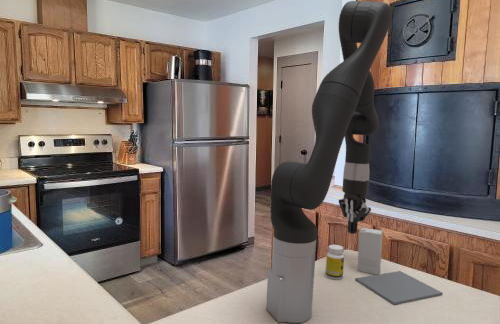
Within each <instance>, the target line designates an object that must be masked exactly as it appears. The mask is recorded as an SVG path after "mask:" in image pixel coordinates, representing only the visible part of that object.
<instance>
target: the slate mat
mask: <svg viewBox="0 0 500 324" xmlns="http://www.w3.org/2000/svg"><path fill="white" fill-rule="evenodd" d="M354 280H355V281H356V282H357V283H359V284H360V285H361V286H363V287H365V288H366V289H368V290H370V291H371V292H373V293H374V294H375V295H378V296H379V297H380V298H382V299H384V300H385V301H387V302H388V303H390V304H391V305H392V306H397V305H402V304H406V303H410V302H411V303H412V302H416V301H420V300H421V301H422V300H425V299H430V298H435V297H438V296H440V297H441V296H443V292H442V291H440V290H438V289H436V288H434V287H432V286H430V285H428V284H426V283H425V282H422V281H420V280H419V279H416V278H415V277H412V275H409V274H407V273H405V272H403V271H401V270H398V271H392V272H385V273H379V274H378V275H376V274H371V275H366V276H361V277H355V279H354Z"/></svg>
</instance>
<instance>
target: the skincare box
mask: <svg viewBox="0 0 500 324" xmlns="http://www.w3.org/2000/svg"><path fill="white" fill-rule="evenodd" d="M383 232H384V231H383V230H379V229H375V228H374V229H372V228H367V227H361V229H360V230H359V232H358V234H359V235H358V253H357V268H356V269H357V272H362V273H367V274H371V275H378V274H381V273H380V272H381V270H382V269H381V264H382V251H383V234H384V233H383Z"/></svg>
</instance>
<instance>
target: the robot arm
mask: <svg viewBox="0 0 500 324" xmlns="http://www.w3.org/2000/svg"><path fill="white" fill-rule="evenodd" d="M392 13H393V12H392V8H391V6H390V5H389V4H388V3H386V2H382V1H371V0H369V1H367V0H366V1H365V0H350V1H347V2H346V3H345V4H344V5H343V6H342V9H341V11H340V14H339V18H338V35H339V36H338V37H339V42H340V48H341V54H342V59H343V61H342V62H340V63H339V64H338V65H336V66H335V67H334V68H333V69H332V70H330V71H329V72H328V73H327V74H326V75H325V76H324V77H323V78H322V81H320V84H319V87H318V88H317V91H316V94H315V96H314V98H313V101H312V106H311V116H312V117H311V118H312V123H313V127H314V132H315V133H314V134H315V138H314V139H315V141H314V145H313V148H312V149H313V150H312V151H311V154H310V157H309V159H308V162H307V163H302V162H297V161H283V162H281V163H280V164H278V165H277V167H276V168H275V169H274V171H273V174H272V177H271V182H270V222H271V225H272V228H273V237H272V238H273V239H272V240H273V241H272V258H271V267H269V268H268V269H267V285H266V303H265V304H266V305H265V309H266V310H267V311H268V313H270V315H271V316H272V317H273V318H274V319H275V320H276V322H278V323H289V324H298V323H304V322H306V321H308V320H310V319H311V318H312V314H313V297H314V282H315V281H314V280H315V265H316V251H317V250H316V249H317V237H318V235H317V233H318V230H317V229H318V227H317V226H316V224H315V222H313V221H312V220H311V219H310V218H309V217H308V216H307V215H306V214H305V212H304V210H303V209H305V210H311V211H312V210H316V209H318V208H319V207H320V206H321V205H322V204H323V202H324V201H325V199H326V197H327V195H328V192H329V189H330V186H331V183H332V179H333V176H334V172H335V168H336V166H337V165H336V164H337V161H338V158H339V154H340V151H341V148H342V144H343V142H344V141H345V159H344V166H343V174H342V189H341V190H342V191H341V192H343V193H344V194H343V198H341V199H340V198H339V199H338V204H339V207H340V209H341V212H342V213H341V214H342V215H343V217H344V218H346V220H347V227H346V228H347V232H348V233H349V234H351V235H353V234H354V235H355V234H357V232H358V225H359V222H363V221H365V219H366V218H367V216H368V215H369V214H370V212H371V211H372V208H371V207H368V206H367V200H366V195H367V194H369V184H370V183H369V182H370V159H371V158H370V157H371V146H370V145H369V144H368V143H365V142H361V141H358V140H356V139H355V137H354V136H355V135H356V136H358V135H359V136H373V135H375V134H376V133H377V132H378V130H379V126H380V123H379V122H380V121H379V116H378V113H377V110H376V107H375V100H374V98H375V79H374V78H373V75H372V72H371V68H372V66H373V64H374V61H375V59H376V58H377V55H378V53H379V52H380V50H381V47H382V45H383V42H384V40H386V39H385V38H386V36H387V35H388V31H389V28H390V25H391V23H392V22H391V21H392V15H393V14H392ZM358 44H359V46H358Z"/></svg>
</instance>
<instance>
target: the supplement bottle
mask: <svg viewBox="0 0 500 324" xmlns="http://www.w3.org/2000/svg"><path fill="white" fill-rule="evenodd" d="M325 260H326V262H325V263H326V264H325V277H326V278H328V279H331V280H342V279H343V276H344V268H345V267H344V265H345V264H344V263H345V255H344V246H342V245H339V244H330V245H328V250H327V253H326V259H325Z"/></svg>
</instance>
